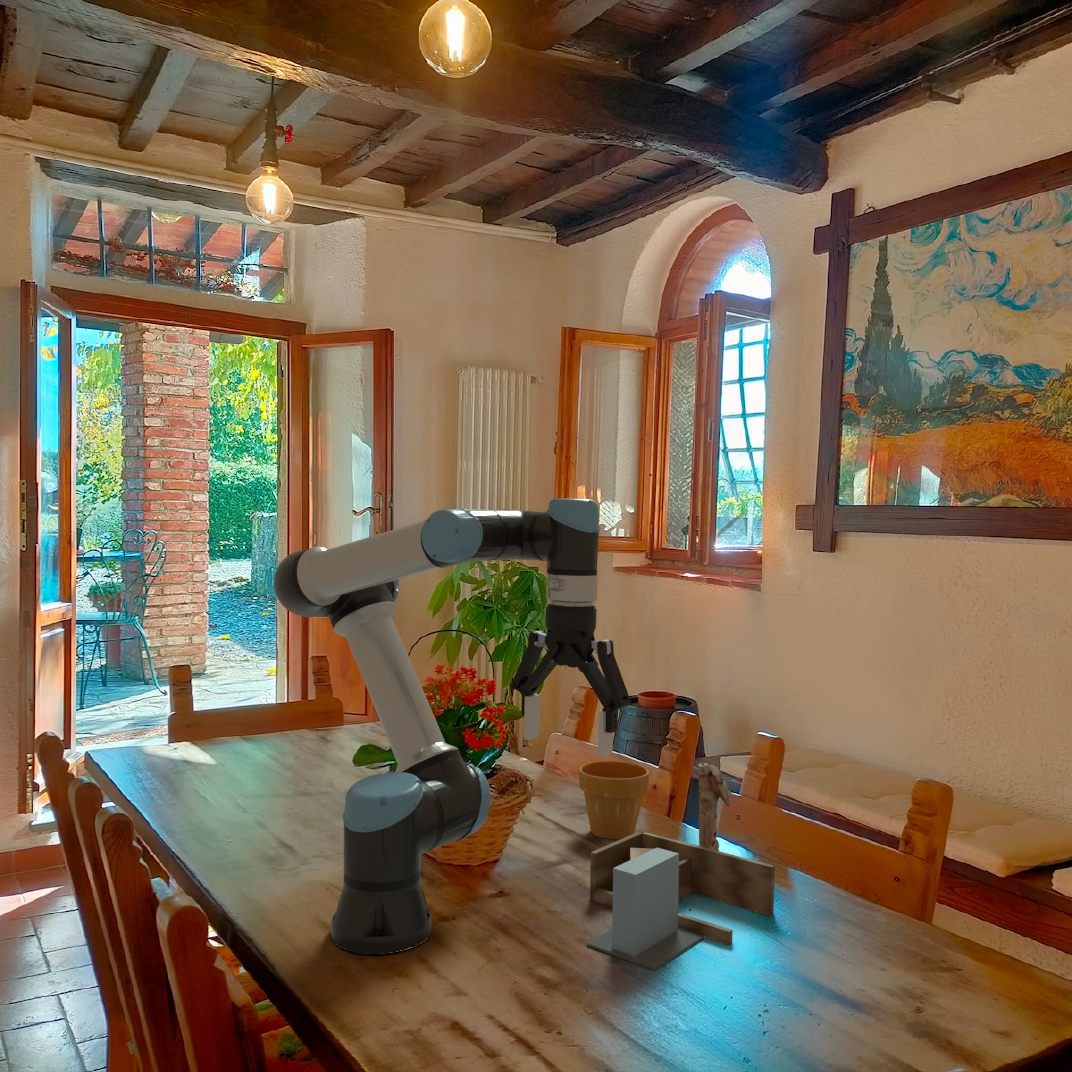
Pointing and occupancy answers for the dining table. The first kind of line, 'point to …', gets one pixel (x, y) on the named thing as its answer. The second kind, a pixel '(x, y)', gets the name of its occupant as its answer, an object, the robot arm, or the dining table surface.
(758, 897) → the rack
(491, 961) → the dining table surface
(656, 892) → the grey rectangular block
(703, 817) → the figurine
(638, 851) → the offcut upper
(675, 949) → the mat
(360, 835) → the robot arm
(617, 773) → the flower pot
